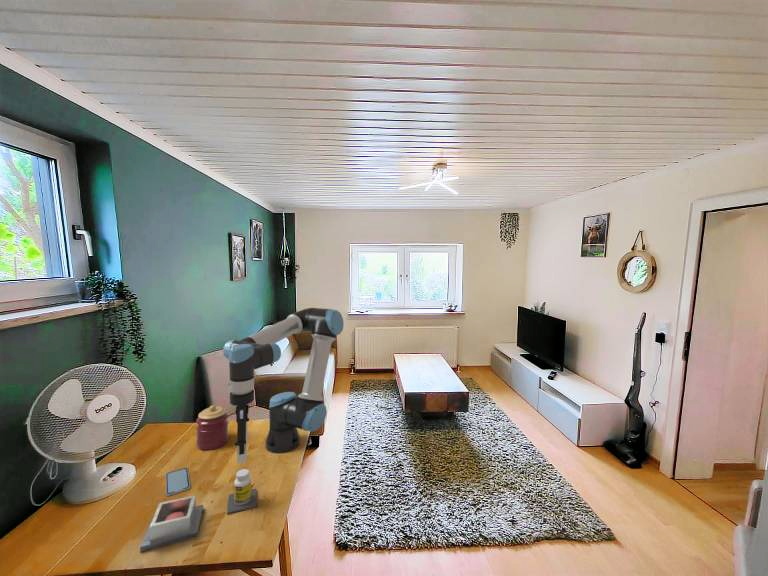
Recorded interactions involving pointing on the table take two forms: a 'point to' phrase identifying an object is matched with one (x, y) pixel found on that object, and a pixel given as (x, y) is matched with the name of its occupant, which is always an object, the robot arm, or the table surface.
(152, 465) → the table surface
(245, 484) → the supplement bottle
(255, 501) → the gray square plate
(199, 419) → the canister
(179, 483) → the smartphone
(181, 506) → the grey open box
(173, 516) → the breaker button
